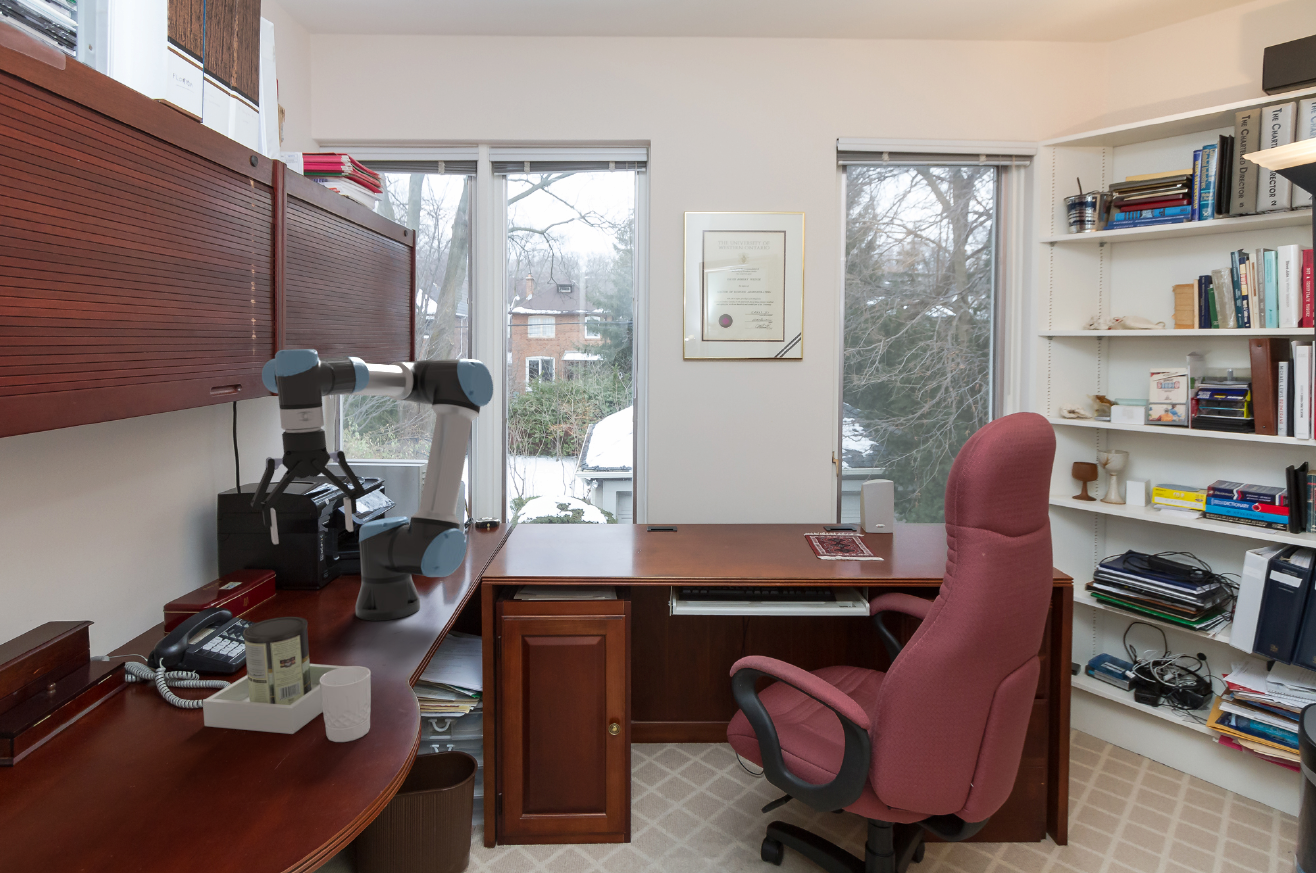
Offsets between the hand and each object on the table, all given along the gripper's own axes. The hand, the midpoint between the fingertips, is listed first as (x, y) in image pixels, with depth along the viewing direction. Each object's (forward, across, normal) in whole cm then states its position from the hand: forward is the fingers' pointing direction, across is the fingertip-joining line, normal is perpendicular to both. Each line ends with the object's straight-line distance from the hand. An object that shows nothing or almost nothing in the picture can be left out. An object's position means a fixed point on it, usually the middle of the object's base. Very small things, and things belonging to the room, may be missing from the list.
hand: (313, 536), depth 146 cm
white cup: (+27, -3, -30) cm, 40 cm away
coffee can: (+26, -10, -12) cm, 31 cm away
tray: (+27, -10, -12) cm, 32 cm away
